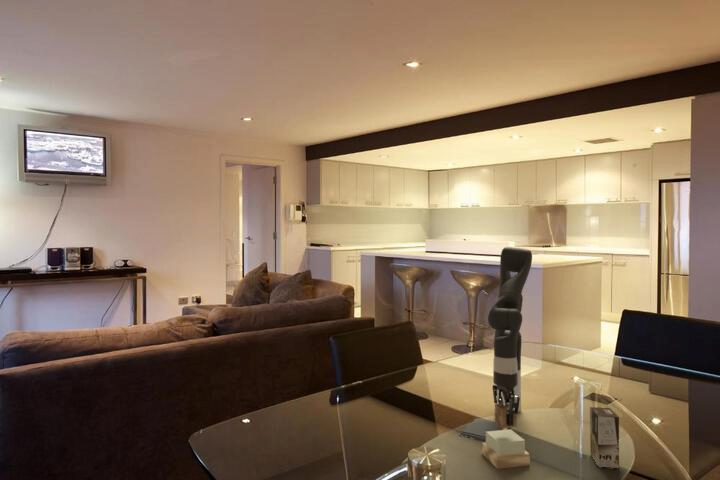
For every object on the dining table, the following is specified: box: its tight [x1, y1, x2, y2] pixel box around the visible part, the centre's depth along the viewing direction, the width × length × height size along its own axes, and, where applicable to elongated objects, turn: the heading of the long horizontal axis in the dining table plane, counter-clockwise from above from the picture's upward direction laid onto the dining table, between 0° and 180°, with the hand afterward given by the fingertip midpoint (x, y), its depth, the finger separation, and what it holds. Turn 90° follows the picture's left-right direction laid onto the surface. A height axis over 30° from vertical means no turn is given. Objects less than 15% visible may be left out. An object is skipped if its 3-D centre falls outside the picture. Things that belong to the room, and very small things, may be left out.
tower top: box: [486, 428, 526, 455], centre depth 154 cm, size 9×9×4 cm
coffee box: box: [589, 406, 620, 468], centre depth 152 cm, size 9×6×16 cm
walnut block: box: [494, 403, 518, 429], centre depth 154 cm, size 5×5×6 cm
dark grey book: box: [460, 417, 511, 443], centre depth 178 cm, size 20×2×15 cm
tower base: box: [481, 441, 531, 470], centre depth 154 cm, size 11×11×4 cm
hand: (505, 421), depth 154 cm, fingers closed on walnut block, 5 cm apart
